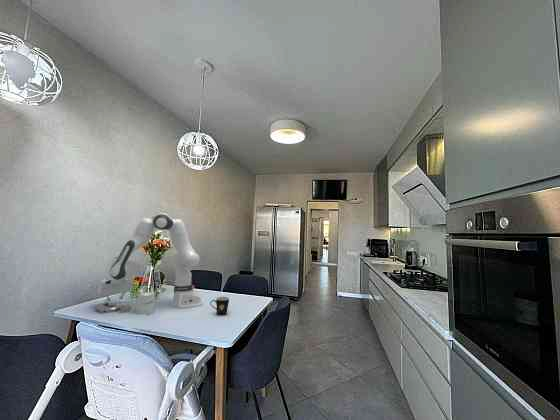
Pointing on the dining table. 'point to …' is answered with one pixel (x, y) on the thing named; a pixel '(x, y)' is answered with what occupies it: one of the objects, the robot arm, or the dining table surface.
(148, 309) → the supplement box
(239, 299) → the dining table surface
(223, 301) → the coffee mug
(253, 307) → the dining table surface
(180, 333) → the dining table surface
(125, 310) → the link block
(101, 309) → the sprocket
